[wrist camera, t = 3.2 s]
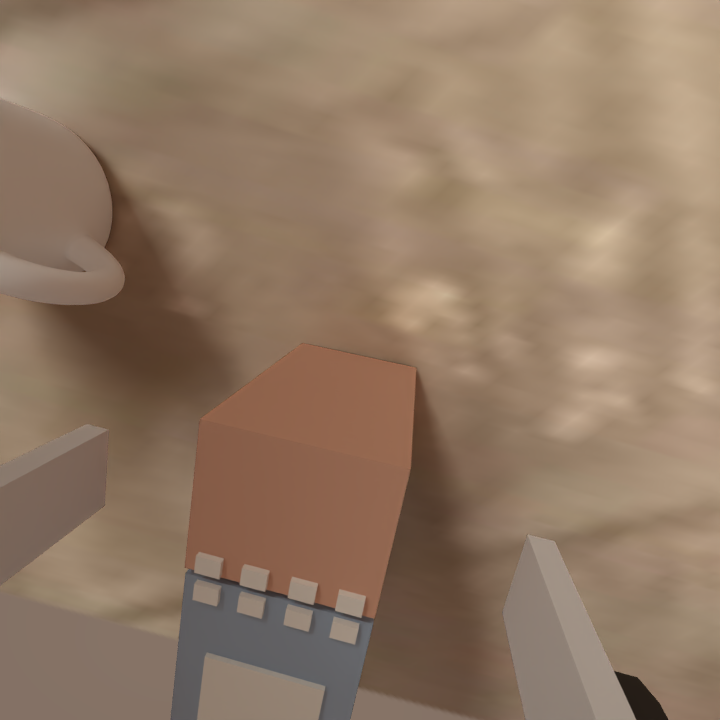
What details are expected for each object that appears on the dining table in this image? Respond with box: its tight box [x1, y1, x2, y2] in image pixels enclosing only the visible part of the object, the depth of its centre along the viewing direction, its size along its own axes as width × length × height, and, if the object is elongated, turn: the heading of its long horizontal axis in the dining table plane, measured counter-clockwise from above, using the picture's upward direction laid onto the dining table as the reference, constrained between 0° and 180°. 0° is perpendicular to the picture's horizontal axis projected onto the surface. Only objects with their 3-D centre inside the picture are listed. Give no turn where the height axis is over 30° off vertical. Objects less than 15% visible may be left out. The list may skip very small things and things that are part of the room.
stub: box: [185, 343, 416, 619], centre depth 18 cm, size 5×6×11 cm
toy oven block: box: [171, 569, 374, 720], centre depth 20 cm, size 8×6×11 cm
